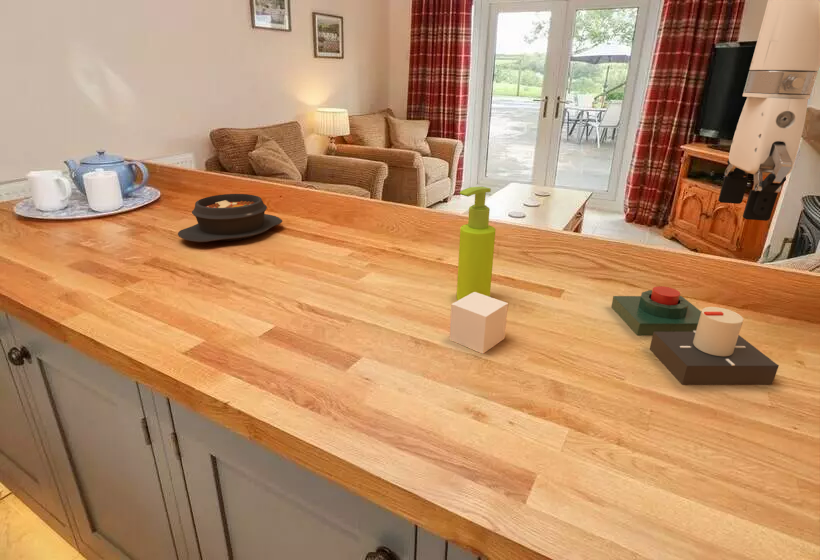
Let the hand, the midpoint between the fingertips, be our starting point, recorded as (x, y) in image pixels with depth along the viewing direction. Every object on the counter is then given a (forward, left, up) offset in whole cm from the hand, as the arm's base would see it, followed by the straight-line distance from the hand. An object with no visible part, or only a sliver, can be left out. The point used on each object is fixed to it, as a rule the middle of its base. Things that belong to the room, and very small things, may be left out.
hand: (741, 210), depth 72 cm
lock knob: (+8, +12, -16) cm, 22 cm away
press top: (+8, -1, -15) cm, 17 cm away
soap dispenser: (+38, -9, -19) cm, 43 cm away
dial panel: (+8, +12, -19) cm, 24 cm away
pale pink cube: (+39, +5, -19) cm, 43 cm away
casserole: (+91, -46, -19) cm, 104 cm away
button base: (+8, -1, -19) cm, 21 cm away
